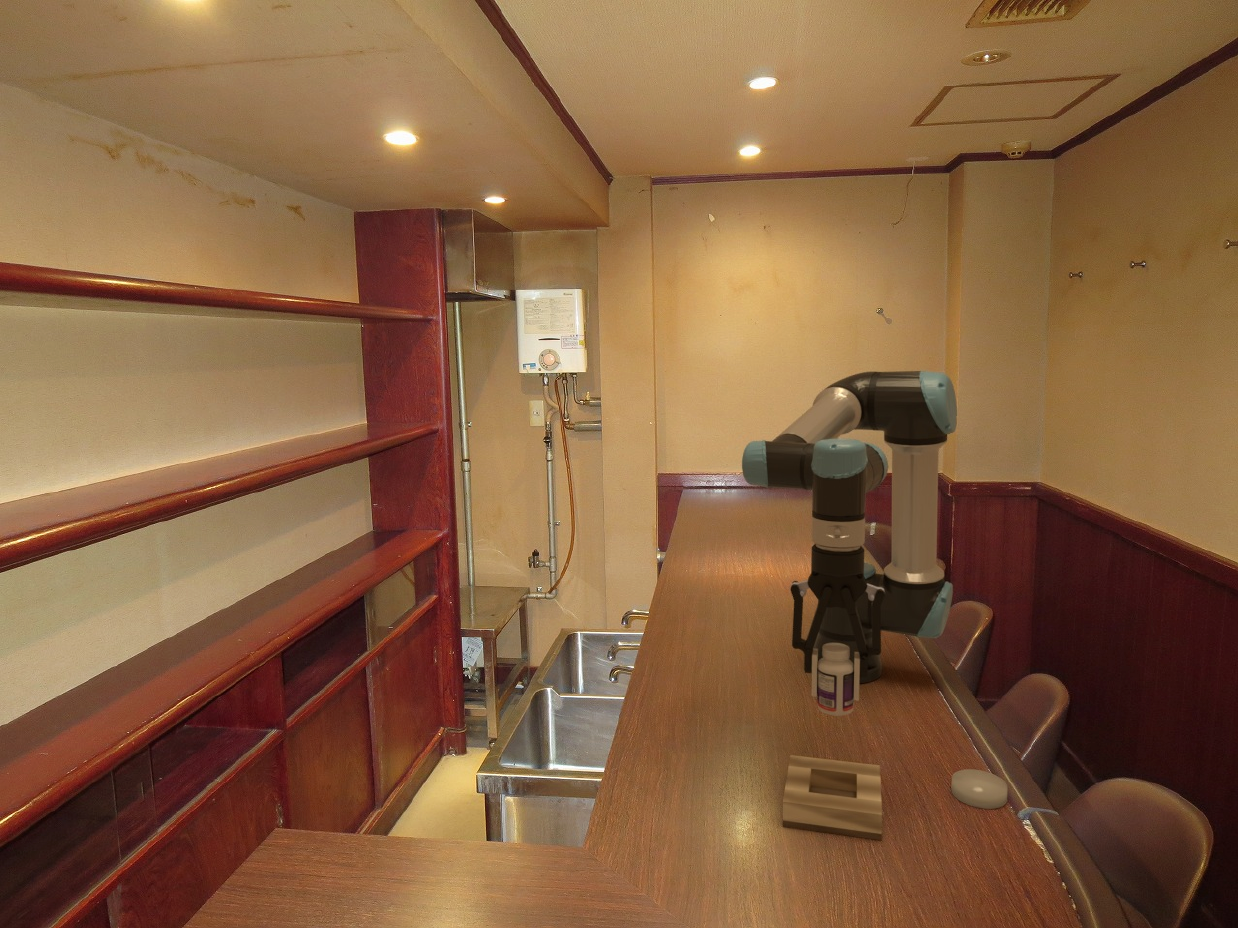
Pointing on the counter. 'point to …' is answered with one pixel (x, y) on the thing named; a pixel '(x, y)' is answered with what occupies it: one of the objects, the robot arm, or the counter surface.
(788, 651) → the counter surface
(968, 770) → the beige oval dome
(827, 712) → the pill bottle
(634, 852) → the counter surface
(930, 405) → the robot arm
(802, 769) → the socket block
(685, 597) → the counter surface
